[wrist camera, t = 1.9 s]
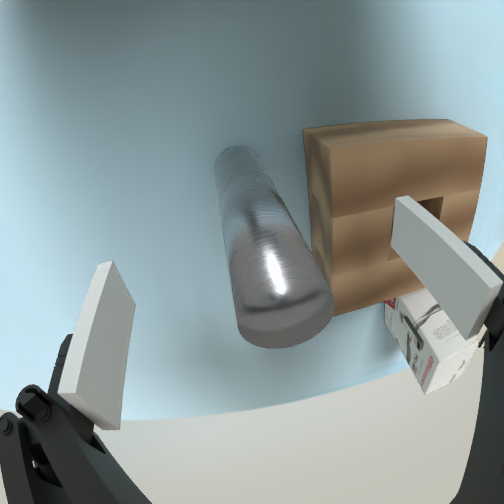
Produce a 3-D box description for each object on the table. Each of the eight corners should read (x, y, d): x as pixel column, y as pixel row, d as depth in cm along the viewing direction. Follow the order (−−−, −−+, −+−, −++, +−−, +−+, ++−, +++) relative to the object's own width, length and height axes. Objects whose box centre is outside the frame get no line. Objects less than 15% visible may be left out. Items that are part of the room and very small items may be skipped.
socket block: (302, 129, 20) (329, 148, 16) (448, 119, 20) (487, 136, 16) (313, 278, 28) (331, 317, 24) (431, 246, 28) (457, 275, 24)
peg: (210, 151, 20) (227, 293, 8) (256, 142, 20) (336, 268, 8) (219, 192, 22) (247, 356, 10) (262, 183, 22) (333, 334, 10)
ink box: (383, 275, 29) (439, 362, 20) (420, 258, 29) (481, 337, 20) (383, 322, 35) (424, 399, 25) (415, 307, 34) (459, 378, 25)
